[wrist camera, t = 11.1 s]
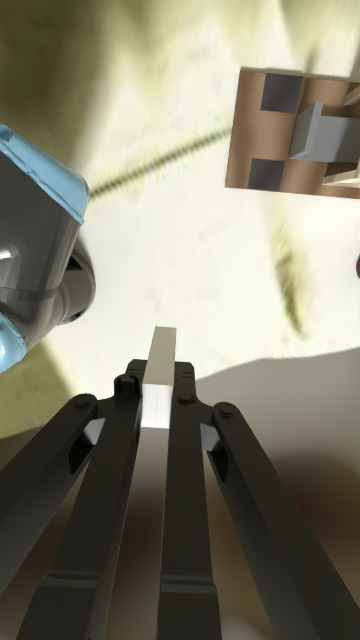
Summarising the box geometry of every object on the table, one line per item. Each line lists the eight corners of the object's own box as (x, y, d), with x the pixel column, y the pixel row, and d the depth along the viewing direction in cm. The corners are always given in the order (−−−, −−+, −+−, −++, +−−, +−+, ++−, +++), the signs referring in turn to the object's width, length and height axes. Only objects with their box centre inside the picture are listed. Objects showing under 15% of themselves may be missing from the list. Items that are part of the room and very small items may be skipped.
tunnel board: (224, 187, 41) (236, 180, 32) (239, 73, 35) (259, 27, 26) (408, 203, 41) (469, 201, 32) (451, 94, 36) (539, 56, 27)
